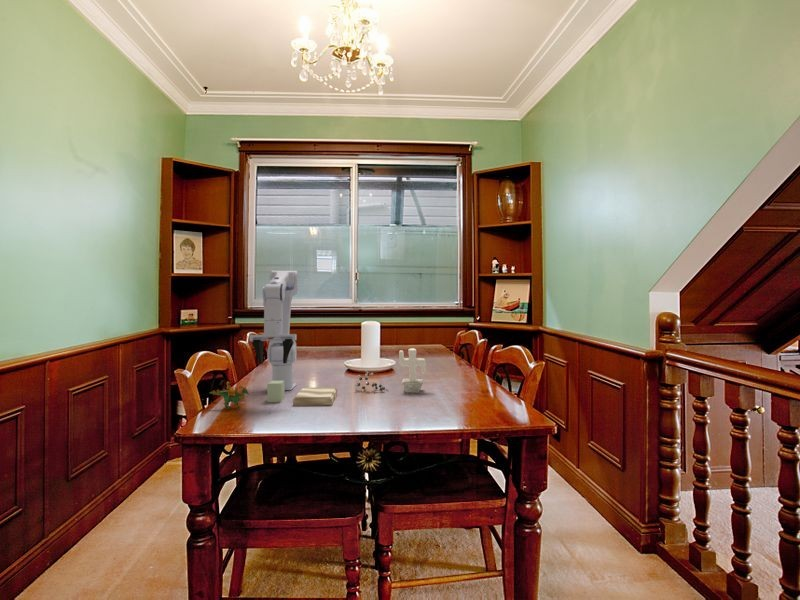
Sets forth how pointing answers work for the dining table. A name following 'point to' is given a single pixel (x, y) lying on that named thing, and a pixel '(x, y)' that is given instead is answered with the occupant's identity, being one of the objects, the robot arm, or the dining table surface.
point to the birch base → (315, 396)
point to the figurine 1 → (231, 395)
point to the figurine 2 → (412, 370)
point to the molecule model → (370, 384)
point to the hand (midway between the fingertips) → (272, 363)
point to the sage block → (275, 391)
